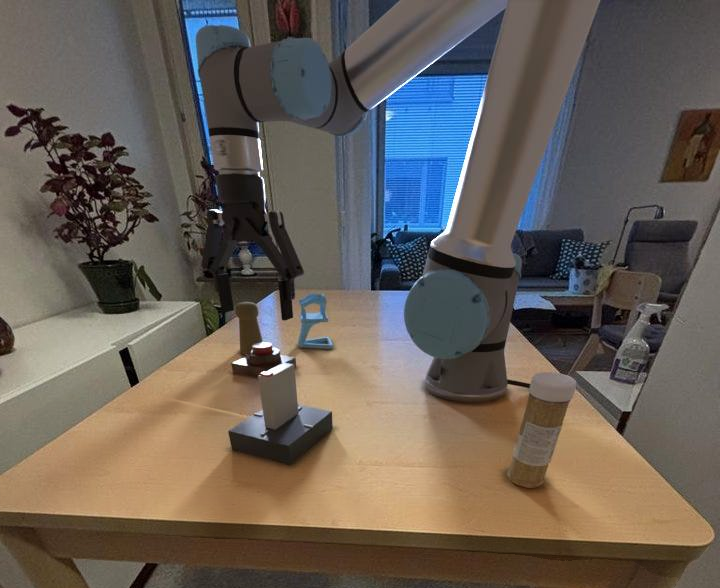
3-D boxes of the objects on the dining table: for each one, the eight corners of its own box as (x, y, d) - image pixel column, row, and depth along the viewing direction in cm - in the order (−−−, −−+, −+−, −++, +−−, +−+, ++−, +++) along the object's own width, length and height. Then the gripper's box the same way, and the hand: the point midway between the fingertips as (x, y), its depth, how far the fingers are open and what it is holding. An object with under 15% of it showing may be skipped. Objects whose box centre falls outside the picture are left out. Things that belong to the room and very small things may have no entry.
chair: (297, 342, 103) (293, 291, 96) (329, 340, 104) (327, 290, 97) (299, 350, 96) (295, 297, 90) (333, 348, 98) (331, 296, 91)
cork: (259, 355, 93) (252, 305, 87) (235, 354, 94) (227, 304, 88) (269, 348, 98) (263, 300, 91) (246, 347, 99) (239, 299, 92)
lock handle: (288, 411, 60) (283, 360, 56) (298, 413, 59) (294, 362, 55) (265, 427, 55) (257, 373, 51) (275, 429, 55) (268, 375, 50)
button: (276, 352, 83) (275, 343, 82) (265, 357, 80) (264, 348, 79) (261, 349, 85) (260, 341, 84) (249, 354, 82) (248, 346, 81)
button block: (296, 367, 86) (294, 348, 84) (272, 380, 79) (270, 360, 77) (259, 361, 89) (256, 343, 87) (233, 373, 83) (229, 354, 80)
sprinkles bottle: (516, 466, 53) (542, 367, 46) (549, 479, 51) (584, 377, 43) (500, 479, 50) (525, 377, 43) (535, 494, 48) (569, 388, 40)
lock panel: (333, 428, 62) (332, 410, 60) (291, 465, 53) (289, 445, 51) (279, 416, 65) (277, 398, 64) (231, 449, 56) (227, 429, 55)
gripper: (161, 173, 64) (191, 312, 76) (294, 171, 56) (304, 326, 68) (195, 176, 70) (217, 305, 82) (319, 175, 62) (324, 318, 74)
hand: (257, 315), depth 75 cm, fingers open, 13 cm apart
